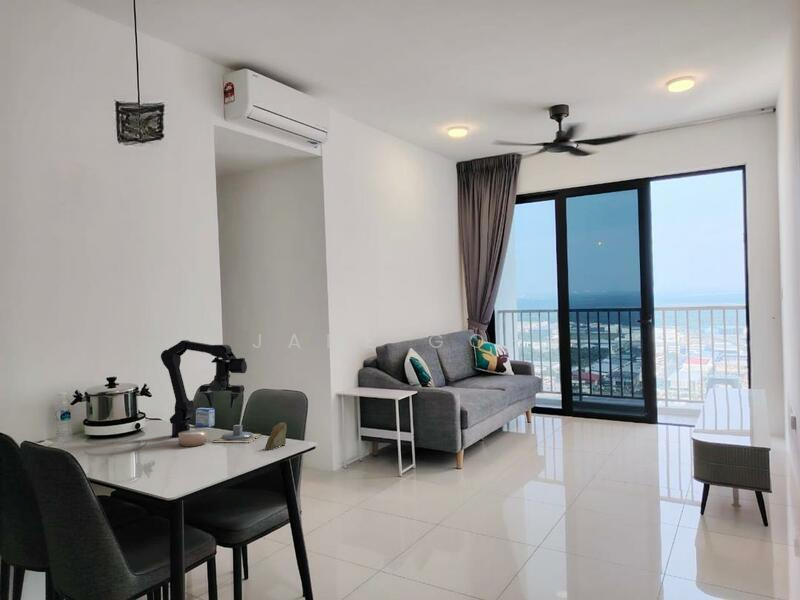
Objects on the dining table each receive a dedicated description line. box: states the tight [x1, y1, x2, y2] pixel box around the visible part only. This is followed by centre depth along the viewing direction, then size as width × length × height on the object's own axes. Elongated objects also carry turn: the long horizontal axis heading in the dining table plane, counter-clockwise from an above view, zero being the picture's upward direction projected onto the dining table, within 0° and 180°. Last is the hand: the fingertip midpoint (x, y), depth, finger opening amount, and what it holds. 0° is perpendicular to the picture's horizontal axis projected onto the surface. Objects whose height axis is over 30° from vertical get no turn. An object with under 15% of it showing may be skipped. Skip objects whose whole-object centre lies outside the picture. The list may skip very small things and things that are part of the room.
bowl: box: [177, 429, 208, 447], centre depth 223 cm, size 11×11×5 cm
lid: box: [221, 424, 254, 440], centre depth 232 cm, size 13×13×5 cm
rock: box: [264, 421, 287, 451], centre depth 217 cm, size 11×9×10 cm
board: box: [212, 433, 262, 442], centre depth 232 cm, size 16×14×1 cm
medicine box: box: [195, 407, 216, 428], centre depth 266 cm, size 8×4×9 cm, turn 73°
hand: (221, 408), depth 239 cm, fingers open, 9 cm apart
